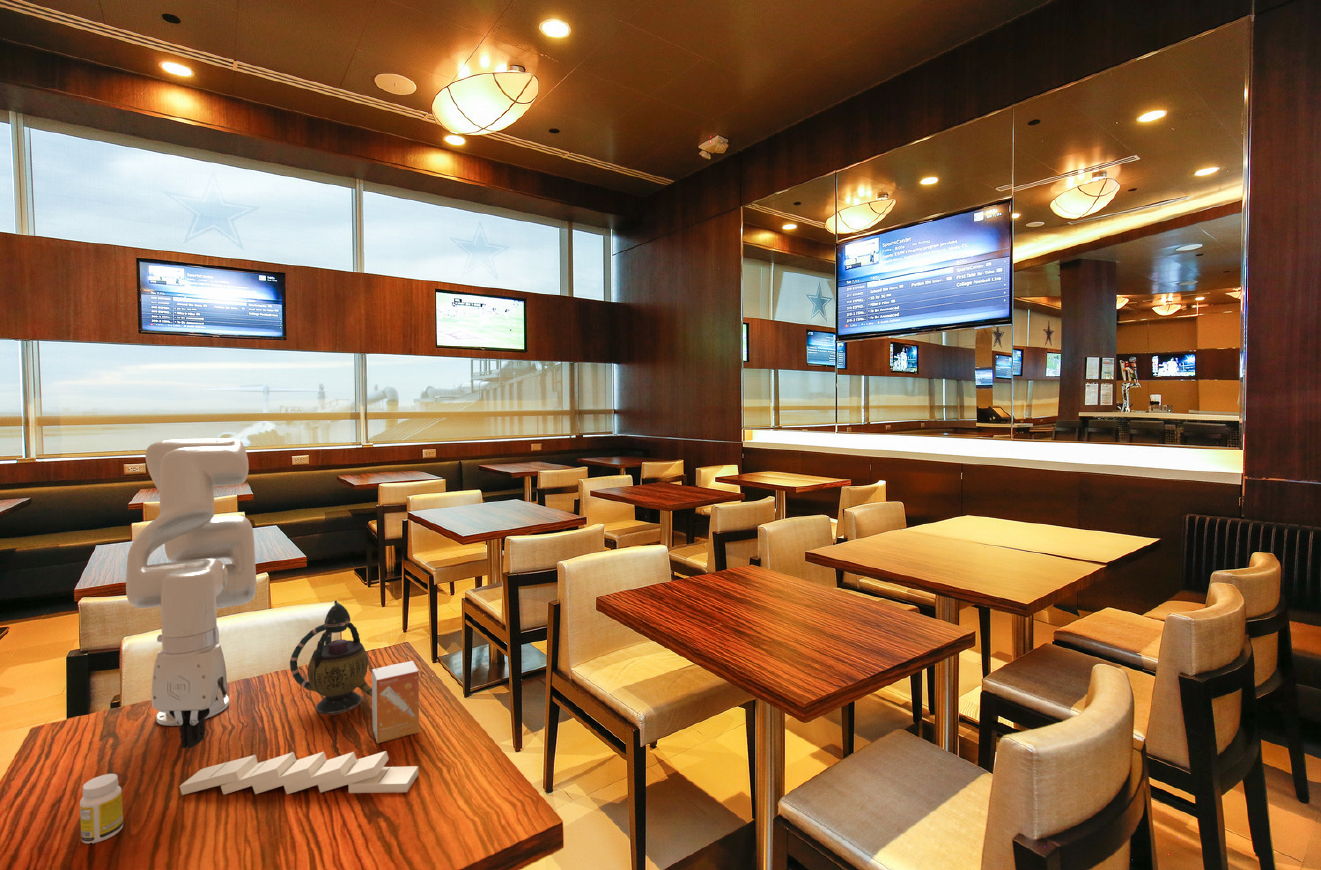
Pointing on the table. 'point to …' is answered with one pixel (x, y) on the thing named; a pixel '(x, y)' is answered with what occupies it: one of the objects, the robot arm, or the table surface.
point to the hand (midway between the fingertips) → (193, 743)
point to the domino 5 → (358, 771)
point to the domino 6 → (387, 781)
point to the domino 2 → (261, 773)
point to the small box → (395, 701)
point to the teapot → (334, 664)
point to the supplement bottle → (101, 809)
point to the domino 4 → (324, 773)
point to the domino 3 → (294, 772)
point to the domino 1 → (218, 774)
